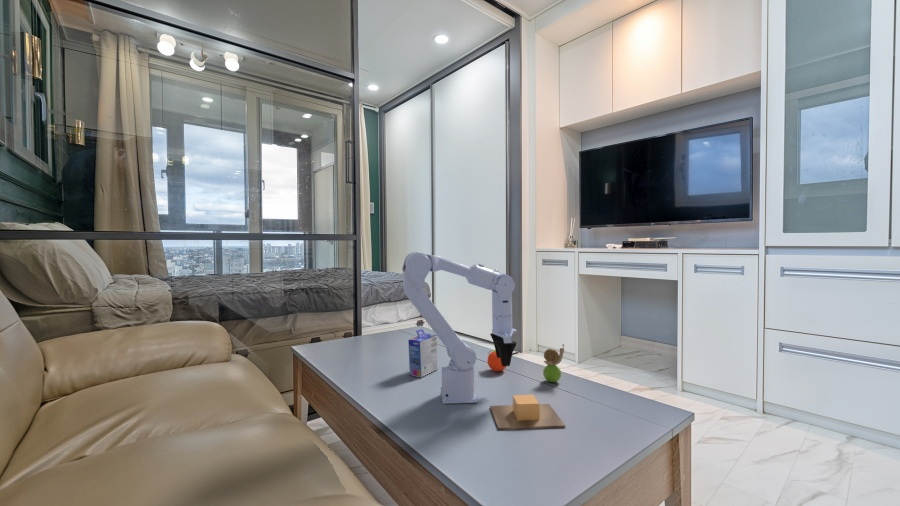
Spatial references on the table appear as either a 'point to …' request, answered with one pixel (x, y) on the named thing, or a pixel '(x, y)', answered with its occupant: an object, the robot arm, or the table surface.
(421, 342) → the ink cartridge box
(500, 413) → the post board
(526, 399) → the cardboard-colored cube
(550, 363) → the snail figurine
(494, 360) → the clementine
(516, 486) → the table surface
